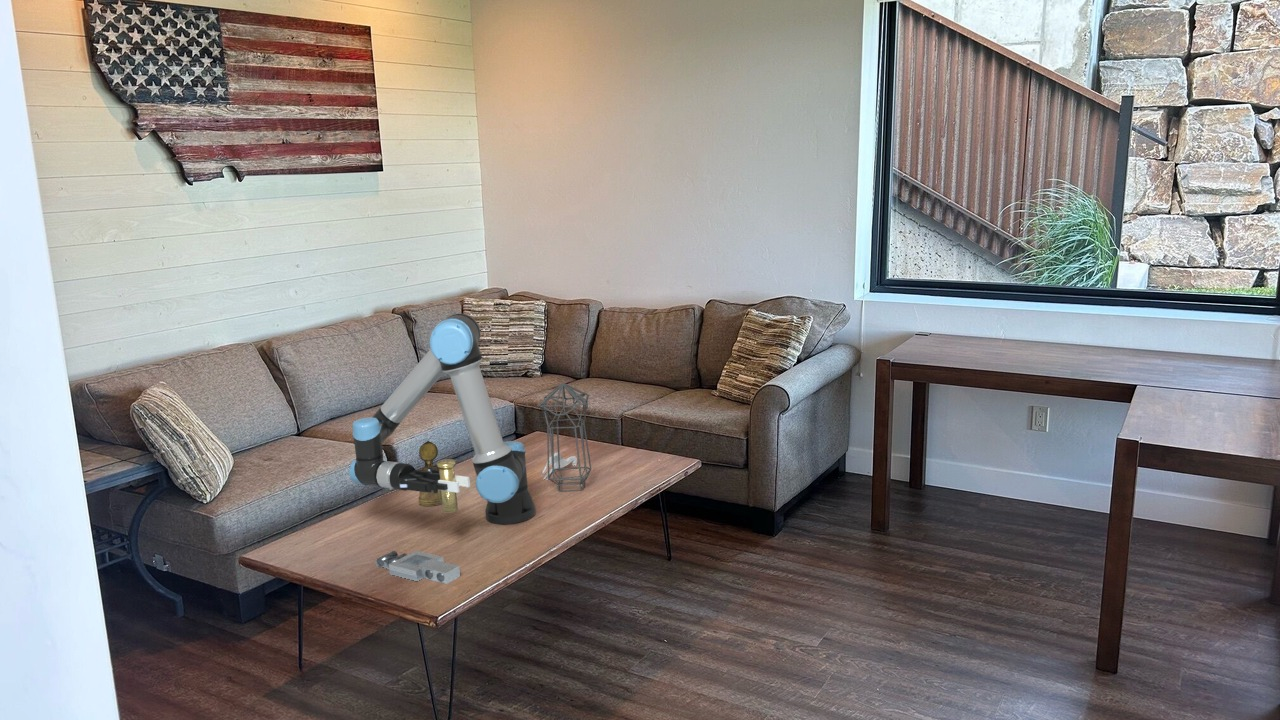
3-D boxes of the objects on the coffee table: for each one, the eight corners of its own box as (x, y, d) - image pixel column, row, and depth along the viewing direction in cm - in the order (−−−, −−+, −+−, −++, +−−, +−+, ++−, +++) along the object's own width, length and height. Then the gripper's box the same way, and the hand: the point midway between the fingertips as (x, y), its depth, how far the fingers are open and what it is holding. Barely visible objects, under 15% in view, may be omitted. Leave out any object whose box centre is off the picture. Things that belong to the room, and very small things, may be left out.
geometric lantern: (544, 495, 300) (535, 390, 294) (551, 481, 316) (543, 380, 310) (593, 493, 299) (584, 387, 293) (597, 478, 315) (590, 377, 309)
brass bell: (447, 491, 310) (441, 439, 306) (446, 504, 297) (441, 450, 293) (419, 494, 308) (414, 442, 304) (418, 507, 295) (412, 453, 291)
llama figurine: (553, 495, 318) (579, 462, 331) (543, 470, 313) (570, 437, 325) (548, 494, 319) (574, 461, 332) (539, 469, 314) (566, 436, 326)
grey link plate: (368, 569, 250) (367, 559, 249) (396, 555, 258) (395, 545, 257) (439, 587, 236) (438, 576, 235) (466, 572, 244) (465, 562, 244)
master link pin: (460, 506, 259) (455, 458, 257) (459, 512, 255) (454, 463, 252) (441, 508, 259) (437, 460, 256) (440, 514, 254) (435, 465, 251)
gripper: (418, 479, 271) (483, 487, 261) (377, 498, 257) (445, 508, 246) (415, 454, 270) (481, 462, 259) (374, 472, 255) (442, 481, 244)
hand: (463, 484), depth 253 cm, fingers closed on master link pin, 4 cm apart
